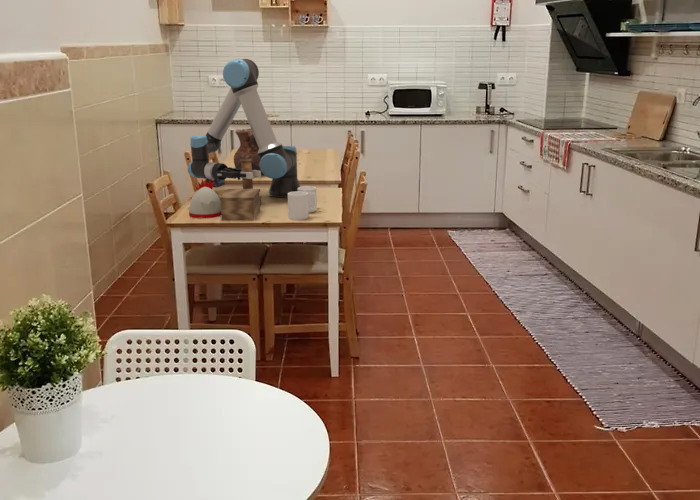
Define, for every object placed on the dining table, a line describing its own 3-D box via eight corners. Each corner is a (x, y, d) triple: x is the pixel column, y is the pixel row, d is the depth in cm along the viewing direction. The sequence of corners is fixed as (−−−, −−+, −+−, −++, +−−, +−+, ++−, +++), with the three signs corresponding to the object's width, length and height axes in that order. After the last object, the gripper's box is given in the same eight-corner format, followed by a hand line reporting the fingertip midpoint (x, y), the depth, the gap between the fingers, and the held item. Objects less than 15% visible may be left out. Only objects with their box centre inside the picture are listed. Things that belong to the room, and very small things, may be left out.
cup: (319, 218, 280) (318, 194, 278) (289, 220, 278) (288, 195, 275) (316, 214, 288) (315, 190, 285) (287, 215, 286) (286, 191, 283)
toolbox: (265, 202, 311) (264, 182, 309) (254, 219, 279) (253, 197, 277) (235, 202, 311) (234, 182, 309) (220, 220, 279) (219, 197, 277)
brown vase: (226, 174, 384) (224, 128, 377) (258, 170, 397) (255, 125, 390) (250, 179, 368) (247, 132, 361) (281, 174, 382) (279, 128, 375)
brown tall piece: (255, 194, 309) (252, 158, 304) (253, 196, 304) (251, 160, 299) (243, 194, 309) (241, 158, 305) (241, 196, 304) (239, 160, 300)
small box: (218, 187, 347) (216, 166, 345) (205, 187, 349) (204, 166, 346) (225, 183, 357) (224, 163, 354) (213, 183, 359) (212, 163, 356)
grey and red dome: (225, 216, 286) (223, 180, 282) (191, 219, 281) (189, 183, 277) (220, 209, 298) (218, 175, 294) (187, 212, 294) (184, 177, 290)
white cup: (301, 214, 289) (301, 190, 286) (295, 210, 296) (294, 187, 293) (319, 212, 292) (319, 188, 289) (312, 208, 299) (312, 185, 296)
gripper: (230, 176, 321) (269, 180, 309) (203, 182, 307) (243, 186, 295) (229, 160, 319) (268, 163, 307) (202, 165, 305) (242, 169, 293)
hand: (256, 174), depth 301 cm, fingers closed on brown tall piece, 4 cm apart
